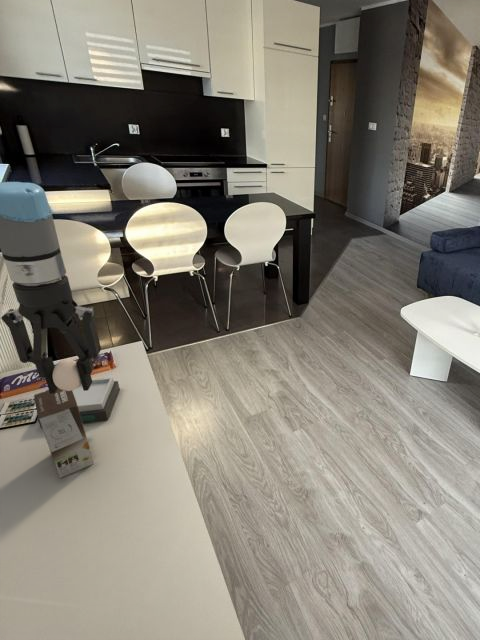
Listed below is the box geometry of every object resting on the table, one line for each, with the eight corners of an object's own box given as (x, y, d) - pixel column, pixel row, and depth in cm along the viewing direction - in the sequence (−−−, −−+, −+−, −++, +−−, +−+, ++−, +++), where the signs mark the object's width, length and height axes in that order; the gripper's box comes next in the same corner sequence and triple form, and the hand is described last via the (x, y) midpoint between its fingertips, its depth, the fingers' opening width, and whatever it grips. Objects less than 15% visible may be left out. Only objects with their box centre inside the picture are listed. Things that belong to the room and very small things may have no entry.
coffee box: (95, 463, 86) (78, 406, 79) (59, 479, 82) (38, 419, 75) (86, 438, 92) (69, 382, 85) (52, 451, 88) (32, 394, 81)
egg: (50, 395, 75) (41, 366, 72) (69, 379, 80) (61, 352, 77) (75, 398, 75) (67, 369, 72) (92, 382, 80) (85, 355, 77)
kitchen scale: (40, 429, 93) (34, 413, 91) (59, 395, 103) (54, 381, 101) (107, 421, 97) (103, 405, 95) (120, 389, 107) (116, 375, 105)
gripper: (-39, 288, 61) (7, 405, 72) (93, 285, 66) (118, 395, 77) (-13, 270, 68) (26, 380, 78) (106, 269, 73) (127, 372, 83)
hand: (71, 387), depth 77 cm, fingers closed on egg, 5 cm apart
